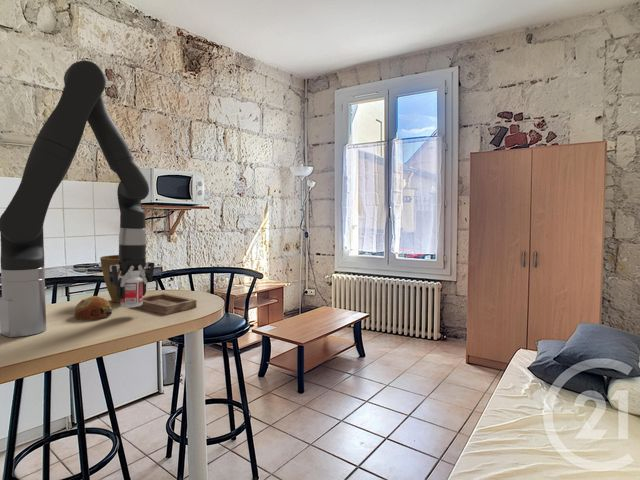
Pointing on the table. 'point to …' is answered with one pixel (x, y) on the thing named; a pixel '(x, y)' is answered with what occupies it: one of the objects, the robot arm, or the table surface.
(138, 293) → the pill bottle
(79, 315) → the bread roll
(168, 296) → the shallow rectangular tray
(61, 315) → the table surface
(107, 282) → the plant pot
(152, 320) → the table surface
